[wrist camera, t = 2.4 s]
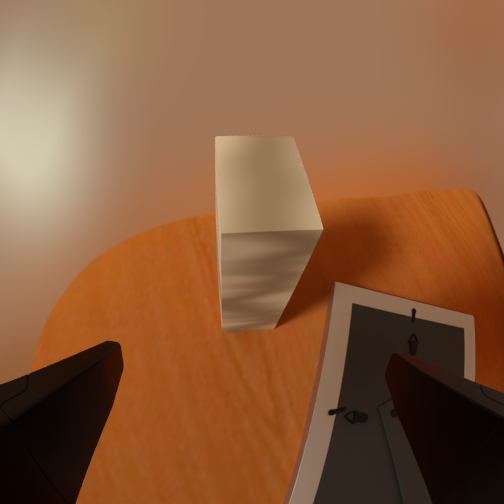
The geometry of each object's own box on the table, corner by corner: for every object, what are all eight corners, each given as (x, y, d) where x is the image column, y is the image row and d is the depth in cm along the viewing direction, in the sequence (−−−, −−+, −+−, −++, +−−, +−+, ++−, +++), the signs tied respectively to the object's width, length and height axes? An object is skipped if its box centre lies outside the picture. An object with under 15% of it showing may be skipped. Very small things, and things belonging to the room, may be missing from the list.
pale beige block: (222, 333, 22) (221, 233, 11) (217, 264, 25) (215, 136, 14) (274, 328, 23) (323, 229, 12) (263, 261, 26) (292, 136, 15)
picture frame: (436, 519, 14) (461, 323, 25) (454, 523, 11) (478, 312, 22) (273, 527, 14) (327, 291, 25) (279, 539, 12) (338, 276, 23)
